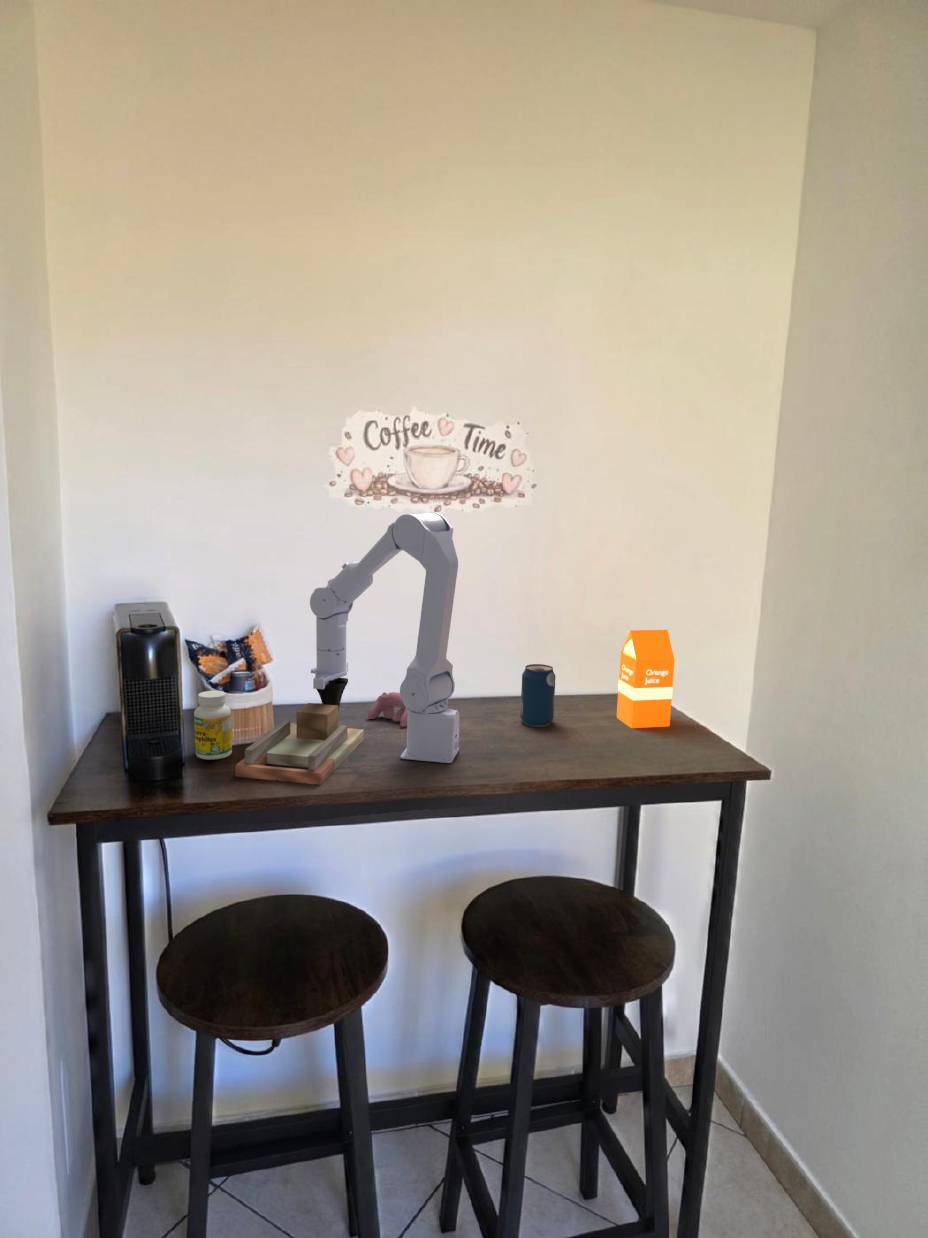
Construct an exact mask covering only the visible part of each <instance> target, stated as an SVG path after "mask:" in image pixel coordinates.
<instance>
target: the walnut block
mask: <svg viewBox="0 0 928 1238" xmlns="http://www.w3.org/2000/svg"><path fill="white" fill-rule="evenodd" d="M295 719H296V723H295V724H297V738H304V739H315V740H326V739H327V738H328V737H329V736H330V735H331V734H332V733H334V732H335V731H336V730H337V729H338V727H339V711H338V706H337V705H325V704H322V703H310V702H307V704H305V705H303V707H301V708H300V709H298V710H297V711H296V718H295Z"/></svg>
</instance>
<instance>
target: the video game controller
mask: <svg viewBox="0 0 928 1238" xmlns="http://www.w3.org/2000/svg"><path fill="white" fill-rule="evenodd" d="M395 708H400V709H398V711H396V710H395ZM382 712H383V713H382ZM381 713H382V714H383V717H384V718H385V719H388V720H393V719H394V717H395V720H396V721H398V722H399V724H400V725H399V726H400V727H401V728H407V710H406V706H405V705H404V703H403V702H402V700H401V697H400V692H395V691H393V692H382V694H381V695H379V696H378V697H377V698H376V700H375V701H374V703H373V705H372V706H371V707H370V709H369V710H368V715H367V716H368V717H367V718H368V720H369V719H373V720H374V719H376V718H377V717H378V716H379V715H380V714H381Z"/></svg>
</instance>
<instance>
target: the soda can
mask: <svg viewBox="0 0 928 1238" xmlns="http://www.w3.org/2000/svg"><path fill="white" fill-rule="evenodd" d="M524 667H525V669H524V671H523V672H522V674H521V691H520V692H521V694H520V714H519V715H520V719H521V721H522V723H523V724H524V725H526V726H527V727H533V728H542V727H548V726H550V725H551V723H552V721H553V720H554V715H555V713H554V712H555V693H556V674H555V672H554V668H553V666H551V665H547V664H541V663H539V664H538V663H535V664H527V665H525V666H524Z"/></svg>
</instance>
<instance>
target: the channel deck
mask: <svg viewBox="0 0 928 1238" xmlns="http://www.w3.org/2000/svg"><path fill="white" fill-rule="evenodd" d="M364 740H365V729H361V728H360V729H359V728H352V727H351V728H348V725H343V724H341V725H340V726H338V729H337V730H336V731H335V732H334V733H332V734H331V735H330V736H329V737H328V738H327V739H326V740H315V739H304V738H297V724H296V723H292V722H291V720H283V721H281V722H280V723H278V724H277V725H276V726H275V727H273V728H272V729H271V730H269V731H268V732H267V733H265V734H264V735H263V736H261V737H260V738H259V739H257V740H256V741H255V742H253V743H252V744H250V745H249V746H248V747H247V748H245V749H244V758H243V759H241V760H240V761H239V762H238V763H236V764H235V765H234V766H235V768H234V769H235V771H234V772H235V777H237V778H247V779H258V780H267V781H276V780H278V782H286V781H287V783H298V784H305V783H306V784H305V785H307V784H308V785H315V784H316V785H317V786H321V785H322V784H323V783H324V782H325V781H326V780H327V779H328V778H329V777H330V776H331V775H332V774H331V773H334V771H335V770H337V768H338V767H339V766H340V765H341V764H343V762H344V761H345V760H346V759H347V758H348V757H349V756H350V755H351V754H352V753H353V752H354V751H355V749H357V747H358V746H359V745H360V744H361V743H362V742H363V741H364ZM268 765H269V766H268ZM270 765H278V766H270ZM281 766H286V767H281ZM287 766H288V767H287ZM292 767H297V768H292ZM298 767H299V768H298ZM301 768H303V769H301ZM304 768H307V769H304ZM288 781H289V782H288Z"/></svg>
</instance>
